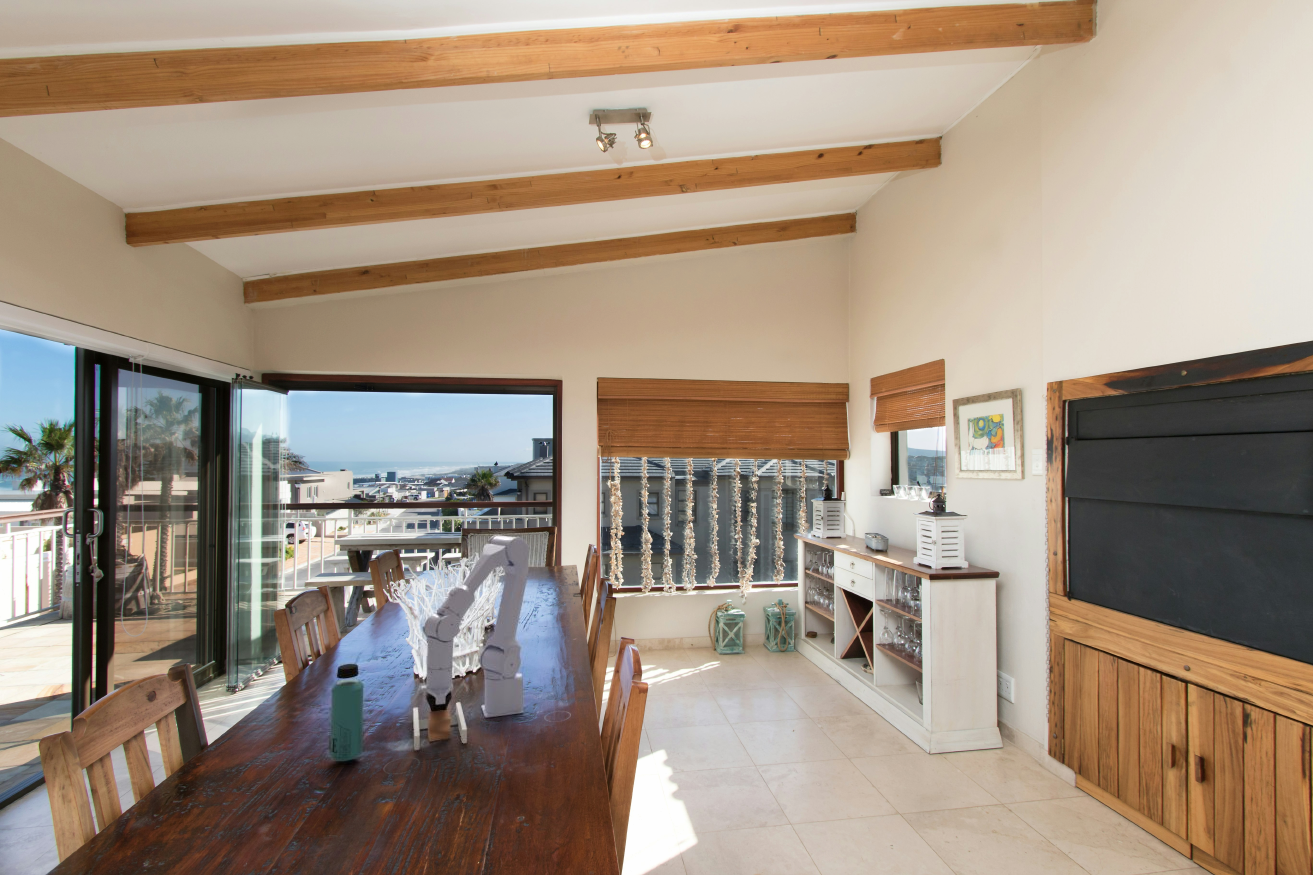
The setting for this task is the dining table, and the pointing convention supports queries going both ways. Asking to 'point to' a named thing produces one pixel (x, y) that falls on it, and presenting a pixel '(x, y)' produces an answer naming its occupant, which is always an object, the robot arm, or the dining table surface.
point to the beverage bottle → (346, 715)
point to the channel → (455, 721)
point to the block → (439, 725)
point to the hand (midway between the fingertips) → (438, 725)
